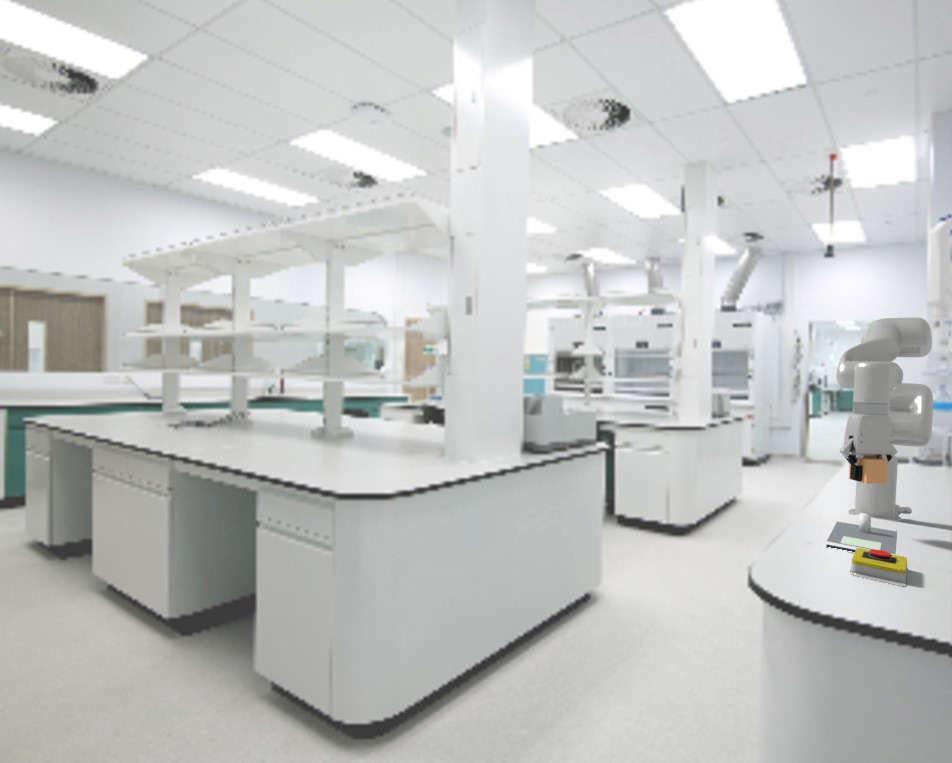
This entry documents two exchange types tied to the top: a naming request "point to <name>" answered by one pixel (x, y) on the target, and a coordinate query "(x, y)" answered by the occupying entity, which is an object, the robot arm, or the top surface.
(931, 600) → the top surface
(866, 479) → the tan wooden cube
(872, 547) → the base plate
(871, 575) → the emergency button
